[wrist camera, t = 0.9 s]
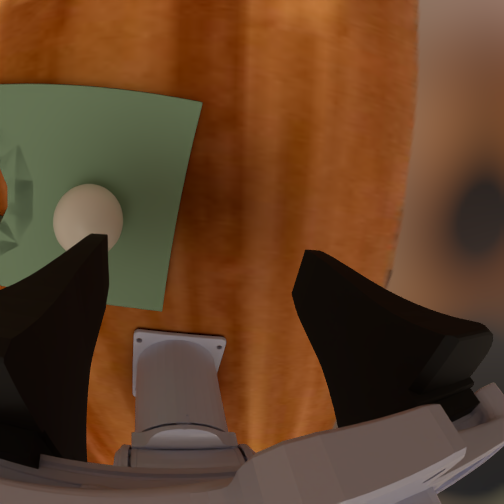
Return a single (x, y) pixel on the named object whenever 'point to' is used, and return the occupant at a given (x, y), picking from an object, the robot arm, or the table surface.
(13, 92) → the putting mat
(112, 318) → the table surface
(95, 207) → the ball
